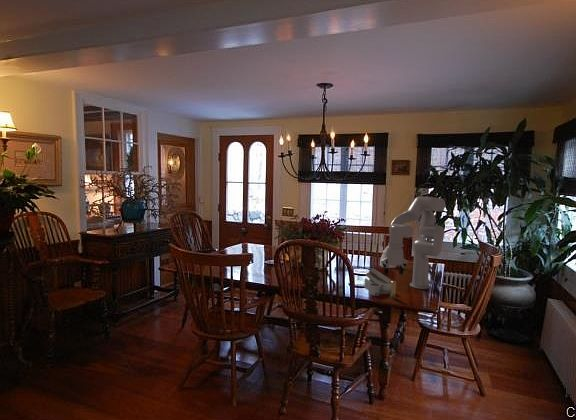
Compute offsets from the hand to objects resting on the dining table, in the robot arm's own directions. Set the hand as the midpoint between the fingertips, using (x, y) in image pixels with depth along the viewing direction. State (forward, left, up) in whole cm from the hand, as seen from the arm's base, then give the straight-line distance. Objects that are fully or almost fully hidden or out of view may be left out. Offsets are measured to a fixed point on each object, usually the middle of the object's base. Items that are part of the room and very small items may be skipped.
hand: (393, 274), depth 222 cm
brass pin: (0, 0, -15) cm, 15 cm away
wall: (-4, -26, -15) cm, 30 cm away
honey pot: (-36, -72, -15) cm, 82 cm away
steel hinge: (+3, -13, -15) cm, 20 cm away
